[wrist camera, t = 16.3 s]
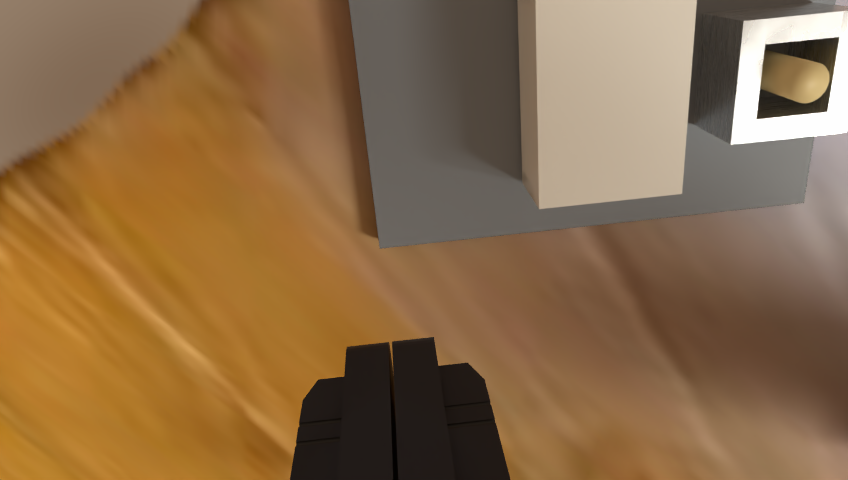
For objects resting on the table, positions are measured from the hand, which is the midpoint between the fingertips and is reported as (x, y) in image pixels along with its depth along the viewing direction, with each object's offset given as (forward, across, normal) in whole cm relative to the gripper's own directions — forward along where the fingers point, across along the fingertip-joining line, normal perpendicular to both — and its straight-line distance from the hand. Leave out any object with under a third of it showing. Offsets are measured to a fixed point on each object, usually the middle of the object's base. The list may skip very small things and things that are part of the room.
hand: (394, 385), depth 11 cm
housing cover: (+24, -11, 0) cm, 26 cm away
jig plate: (+25, -11, 0) cm, 27 cm away
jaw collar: (+24, -19, 0) cm, 30 cm away
